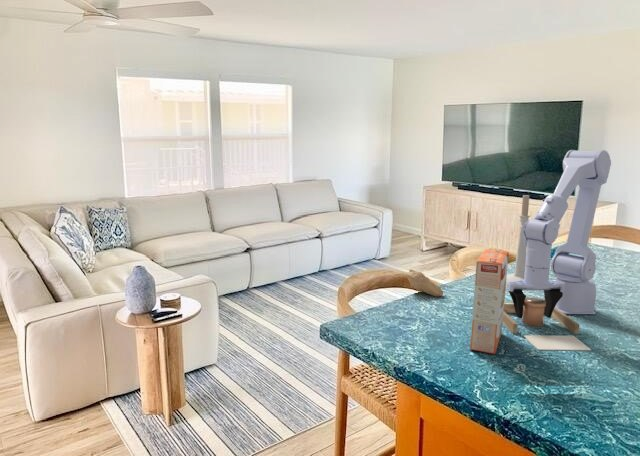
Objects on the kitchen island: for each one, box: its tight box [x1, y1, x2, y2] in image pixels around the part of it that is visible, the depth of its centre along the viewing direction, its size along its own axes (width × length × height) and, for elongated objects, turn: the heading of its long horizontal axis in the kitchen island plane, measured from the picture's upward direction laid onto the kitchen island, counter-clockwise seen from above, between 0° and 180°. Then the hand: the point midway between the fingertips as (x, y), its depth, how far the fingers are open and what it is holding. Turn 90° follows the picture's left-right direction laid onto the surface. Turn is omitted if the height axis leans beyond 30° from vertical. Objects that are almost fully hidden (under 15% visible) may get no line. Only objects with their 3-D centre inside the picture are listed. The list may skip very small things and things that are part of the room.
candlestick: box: [506, 194, 531, 284], centre depth 159 cm, size 13×13×30 cm
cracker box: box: [469, 248, 510, 355], centre depth 112 cm, size 14×6×21 cm, turn 154°
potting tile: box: [523, 334, 592, 351], centre depth 113 cm, size 12×8×1 cm, turn 89°
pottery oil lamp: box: [406, 269, 444, 297], centre depth 149 cm, size 9×12×7 cm
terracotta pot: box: [521, 296, 546, 327], centre depth 125 cm, size 6×6×6 cm
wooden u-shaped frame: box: [502, 302, 580, 335], centre depth 126 cm, size 16×16×2 cm
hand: (533, 316), depth 125 cm, fingers open, 7 cm apart
